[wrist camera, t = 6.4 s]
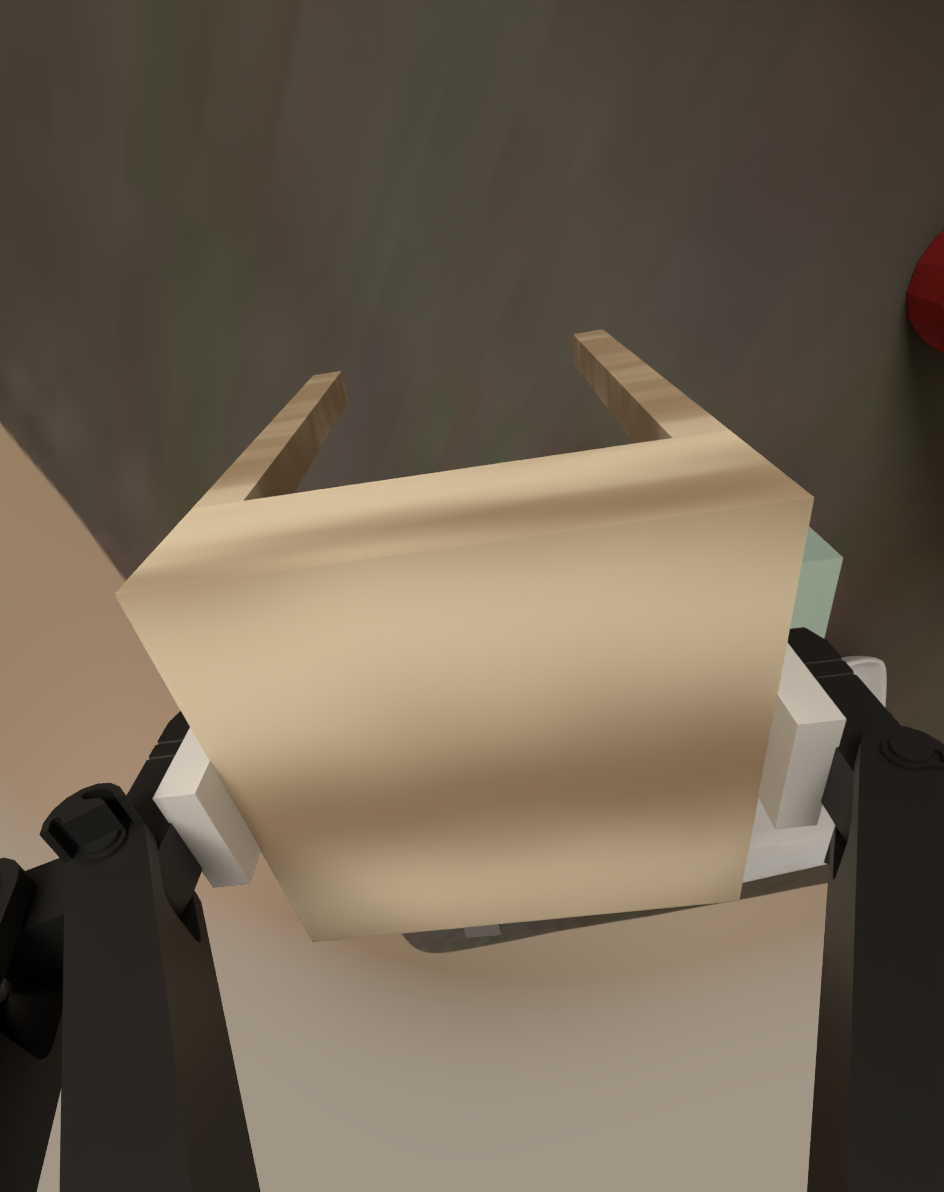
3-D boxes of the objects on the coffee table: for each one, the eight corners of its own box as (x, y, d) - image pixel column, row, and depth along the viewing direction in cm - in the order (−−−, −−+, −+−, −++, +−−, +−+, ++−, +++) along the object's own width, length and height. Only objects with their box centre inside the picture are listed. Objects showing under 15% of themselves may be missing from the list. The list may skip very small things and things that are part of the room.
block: (636, 489, 31) (691, 577, 24) (750, 473, 31) (843, 557, 24) (635, 582, 35) (683, 686, 27) (738, 569, 34) (816, 670, 27)
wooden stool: (313, 375, 20) (114, 593, 9) (602, 329, 20) (814, 497, 8) (379, 610, 26) (312, 942, 14) (608, 580, 25) (739, 900, 13)
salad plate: (859, 622, 37) (892, 657, 34) (860, 819, 48) (885, 857, 45) (537, 710, 41) (543, 748, 38) (607, 873, 52) (615, 912, 49)
